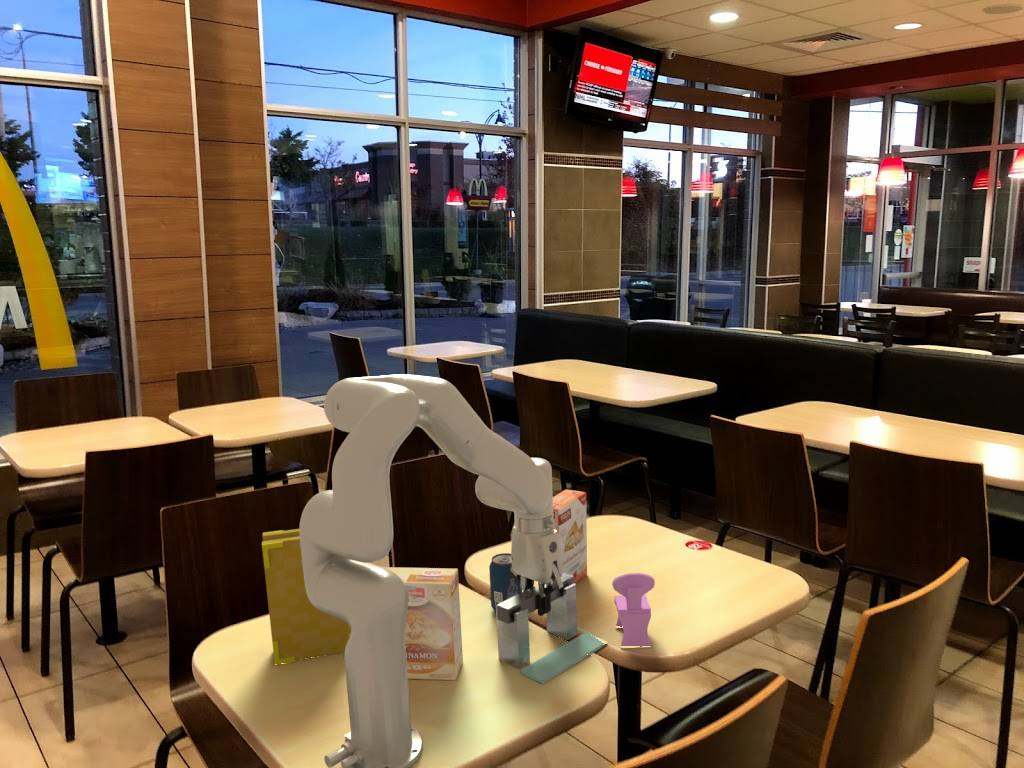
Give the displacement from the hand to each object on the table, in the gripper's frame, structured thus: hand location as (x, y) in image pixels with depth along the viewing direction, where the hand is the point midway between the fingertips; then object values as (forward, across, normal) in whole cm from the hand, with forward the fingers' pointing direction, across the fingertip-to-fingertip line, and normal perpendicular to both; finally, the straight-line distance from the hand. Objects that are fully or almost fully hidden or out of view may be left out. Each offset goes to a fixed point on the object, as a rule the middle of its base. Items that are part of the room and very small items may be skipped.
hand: (537, 609), depth 158 cm
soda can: (+8, +16, -7) cm, 19 cm away
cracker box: (+8, +15, -25) cm, 30 cm away
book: (+8, +33, +30) cm, 45 cm away
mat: (+8, -7, 0) cm, 10 cm away
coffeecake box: (+8, +11, +21) cm, 25 cm away
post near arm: (+8, 0, +7) cm, 10 cm away
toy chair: (+8, -12, -15) cm, 21 cm away
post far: (+8, 0, -7) cm, 10 cm away
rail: (-1, 0, 0) cm, 1 cm away
